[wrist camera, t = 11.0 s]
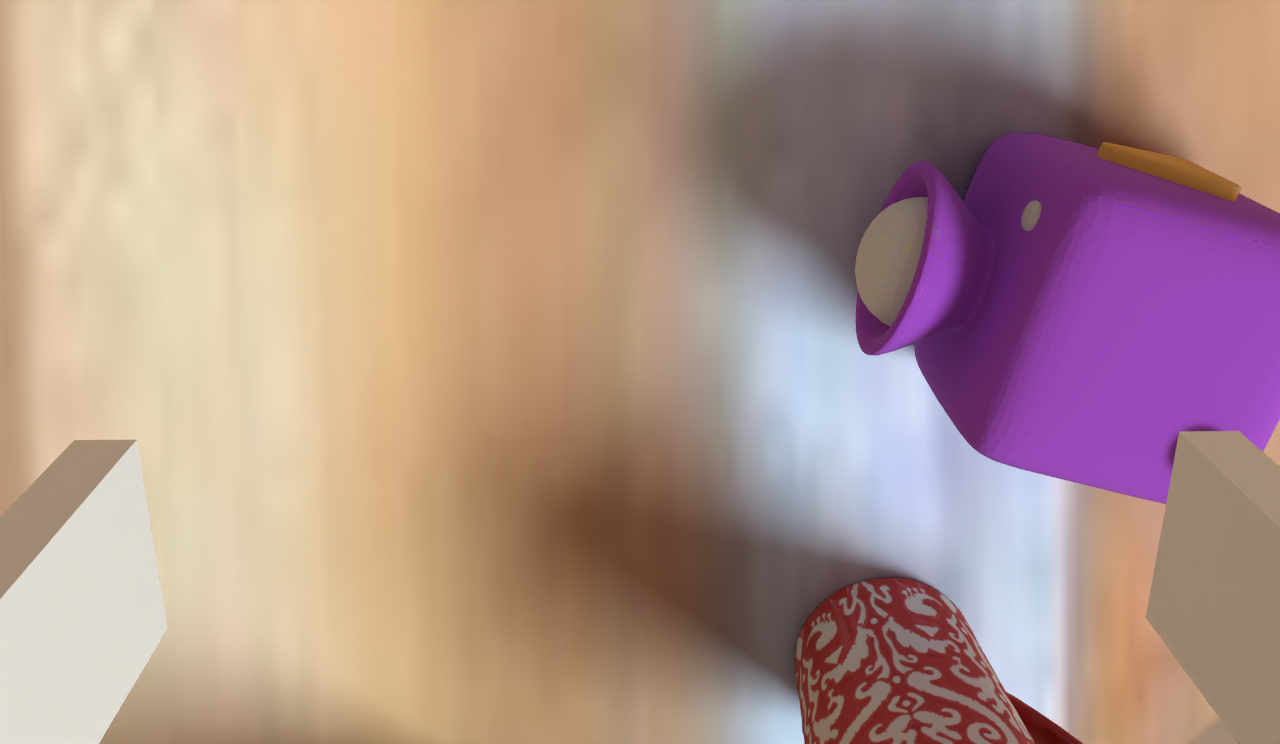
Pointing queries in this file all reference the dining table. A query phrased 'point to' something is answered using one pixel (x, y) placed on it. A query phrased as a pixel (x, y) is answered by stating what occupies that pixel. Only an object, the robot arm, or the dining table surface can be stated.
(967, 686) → the mug
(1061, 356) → the toy camera
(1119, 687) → the dining table surface
